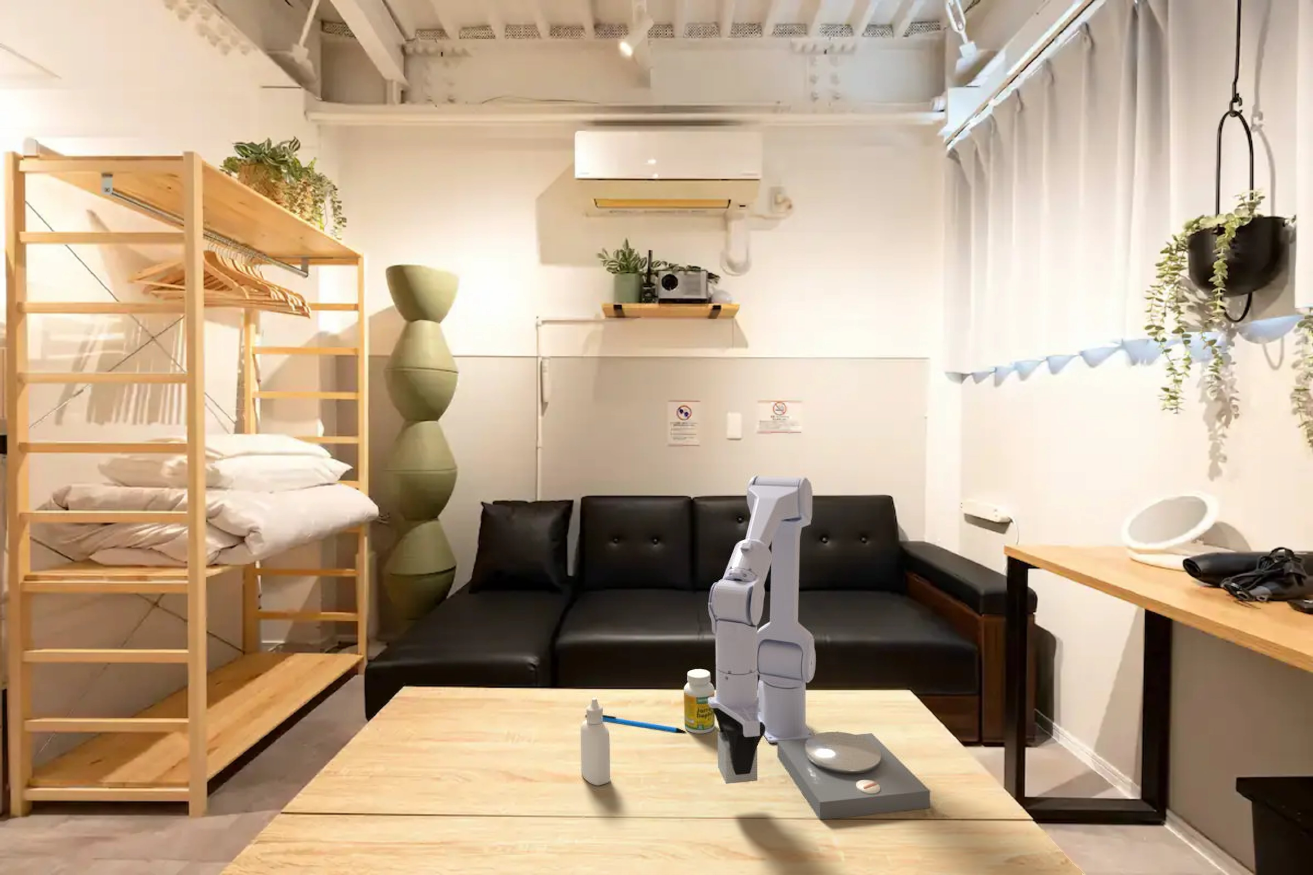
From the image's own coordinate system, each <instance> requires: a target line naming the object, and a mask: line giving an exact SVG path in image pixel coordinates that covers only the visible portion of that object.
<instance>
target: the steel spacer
mask: <svg viewBox="0 0 1313 875" xmlns="http://www.w3.org/2000/svg"><path fill="white" fill-rule="evenodd" d="M717 768H718V770H719V772H720V774H721V777H722V778H723V781H724V783H725V784H726V785H729V784H738V783H748V782H757V781H758V748H757V749H756V752H755V756H754V760H753V765H752V769H751V772H750V774H742V775H736V774H735V772H734V769H733V765H732V758H731V751H730V746H729V742H728V738H727V736H726V733H725V732H720V731H717Z"/></svg>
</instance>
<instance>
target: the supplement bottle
mask: <svg viewBox="0 0 1313 875" xmlns="http://www.w3.org/2000/svg"><path fill="white" fill-rule="evenodd" d="M686 680H687V683H686V684H685V685H684V687H683V714H684V718H683V720H684V722H683V723H684V724H683V725H684V728H685V730H686V731H688V732H690V733H693V734H699V735H701V734H707V733H710V732H712V731H713V730H714V728H715V727H716V726H715V724H716V719H715V718H716V716H715V713H714V711H713V709H712V708H711V707H710V706H709V705H708V698H710V697H715V695H716V693H715V687H714V685H713V684H712V682H711V672H710V671H709V670H707V669H702V668H698V669H697V668H695V669H692V670H689V671H687V679H686Z"/></svg>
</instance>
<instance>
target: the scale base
mask: <svg viewBox="0 0 1313 875" xmlns="http://www.w3.org/2000/svg"><path fill="white" fill-rule="evenodd" d="M857 735H858V736H861V737H863V738H865V739H868V740H869V741H871V742H872V743H874V744H875V745H876V746H877V747H878V748H879V750H880V752H881V761H880V764H879V765H878V766H877V767H876V768H875V769H873V770H871V771H868V772H864V773H840V772H835V771H831V770H828V769H825V768H822V767H820V766H818V765H816V764H815V763H813V762H812V761H811V760H810V759H809V758H808V757H807V755H806V753H805V744H806V741H807V740H808V739H801V740H790V741H779V742H776V743H777V744H776V745H777V750H776V752H777V758H778V759H779V761H780V763H781V764H782V765H783V767H784V768H785V770H786V771H787V773H788V774H789V776H790V778H791V779H792V781H793V782H794V784H795V785H796V787H797V788H798V790H799V791H800V792H801V794H802V795H803V797H804V799H805V800H806V801H807V803H808V805H809V806H810V807H811V809H812V810H813V813H815V815H816V816H817V818H818V819H819V821H821V820H830V819H839V818H849V817H857V816H867V815H876V814H885V813H894V812H902V811H903V812H904V811H913V810H922V809H930V808H931V790H930V789H929V788H928V787H927V786H926V785H925V784H924V783H923V782H922V781H921V780H920V779H919V778H918V777H917V776H916V775H915V774H913V772H912V771H911V770H909V769H908V768H907V767H906V766H905V764H904V763H903V762H901V761H900V760H899V758H897V756H895V755H894V754H893V752H891V750H890V749H888V747H887V746H885V744H883V743H882V742H881V741H880V740H879V738H877V737H876V735H874V734H873V733H872V732H871V733H859V734H857Z"/></svg>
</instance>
